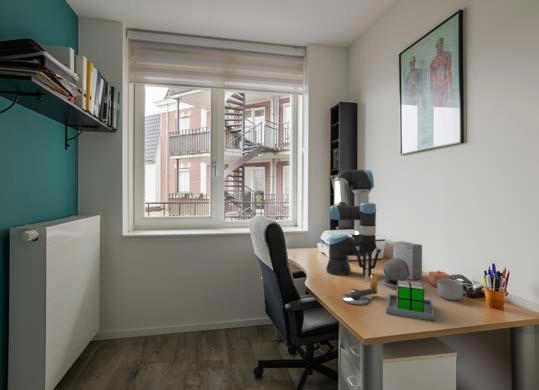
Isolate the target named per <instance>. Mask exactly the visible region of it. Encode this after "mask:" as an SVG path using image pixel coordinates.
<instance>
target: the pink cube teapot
mask: <svg viewBox="0 0 539 390" xmlns="http://www.w3.org/2000/svg"><path fill="white" fill-rule="evenodd" d="M442 279H444V280H445V279H448V280H451V279H450V274H448V273H446V272H445V271H441V270H437V271H428V283H429V284H430V285H432V286H433V287H434V288H437V281H438V280H442ZM437 289H438V288H437Z"/></svg>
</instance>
